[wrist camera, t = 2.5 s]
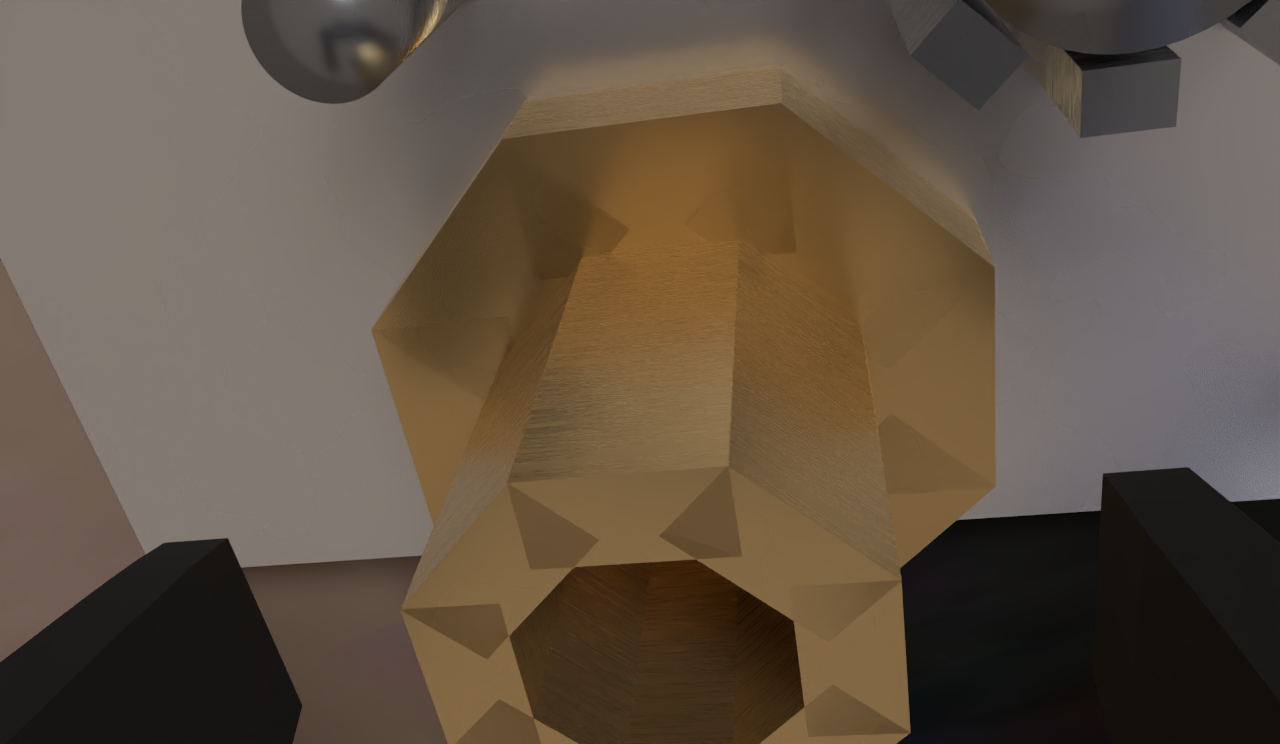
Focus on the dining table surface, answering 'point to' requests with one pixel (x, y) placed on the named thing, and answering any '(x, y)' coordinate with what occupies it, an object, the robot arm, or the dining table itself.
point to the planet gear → (686, 419)
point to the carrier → (588, 62)
